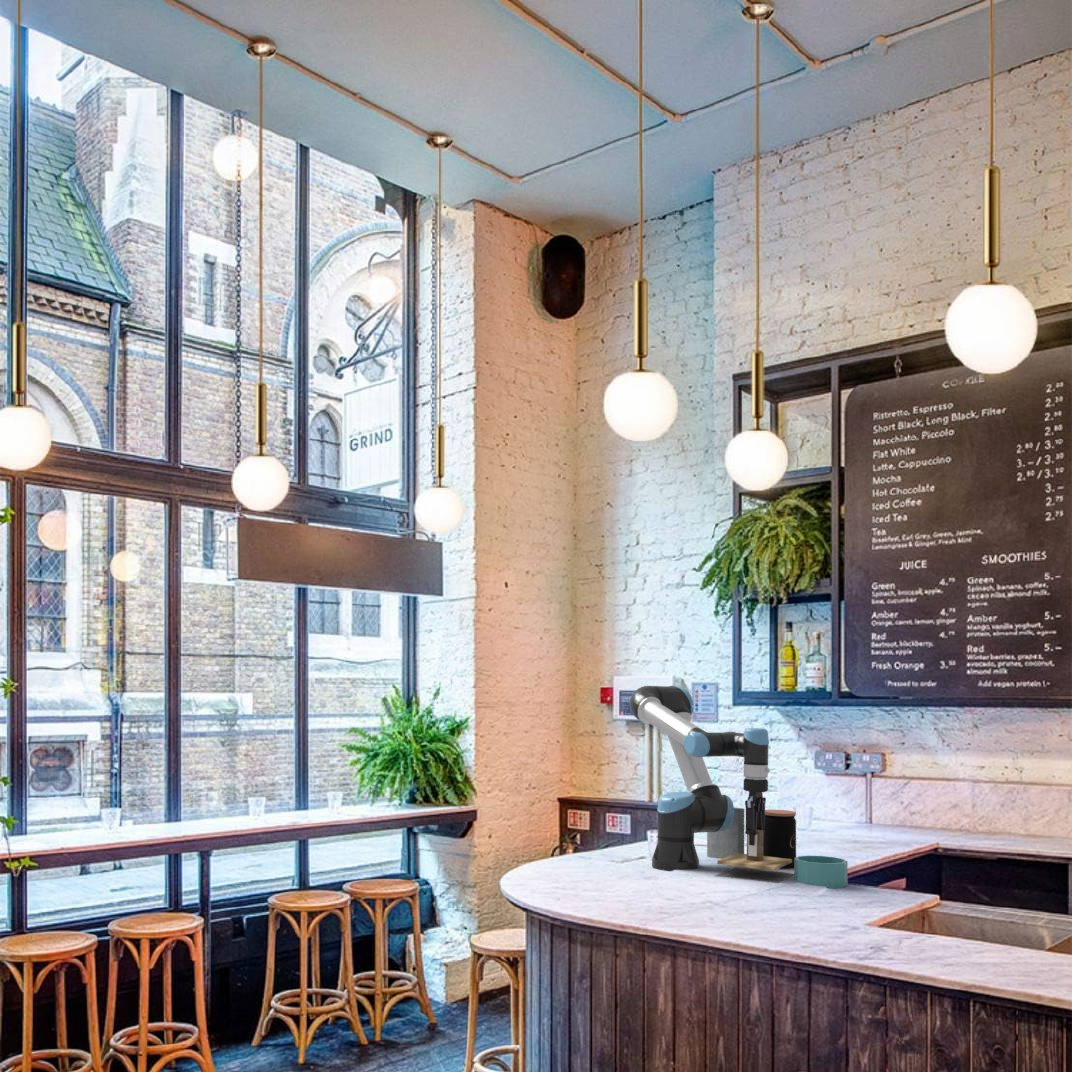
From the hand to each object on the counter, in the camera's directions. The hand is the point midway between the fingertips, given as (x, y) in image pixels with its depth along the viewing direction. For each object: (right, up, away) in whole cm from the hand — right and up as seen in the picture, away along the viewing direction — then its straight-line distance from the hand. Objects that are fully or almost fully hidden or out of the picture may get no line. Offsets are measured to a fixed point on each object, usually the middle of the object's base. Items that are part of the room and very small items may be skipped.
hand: (755, 854), depth 358 cm
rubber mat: (0, -7, -1) cm, 7 cm away
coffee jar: (+11, -9, +17) cm, 22 cm away
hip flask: (-4, -11, +32) cm, 34 cm away
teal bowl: (+18, -6, -10) cm, 21 cm away
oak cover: (0, -3, 0) cm, 3 cm away
